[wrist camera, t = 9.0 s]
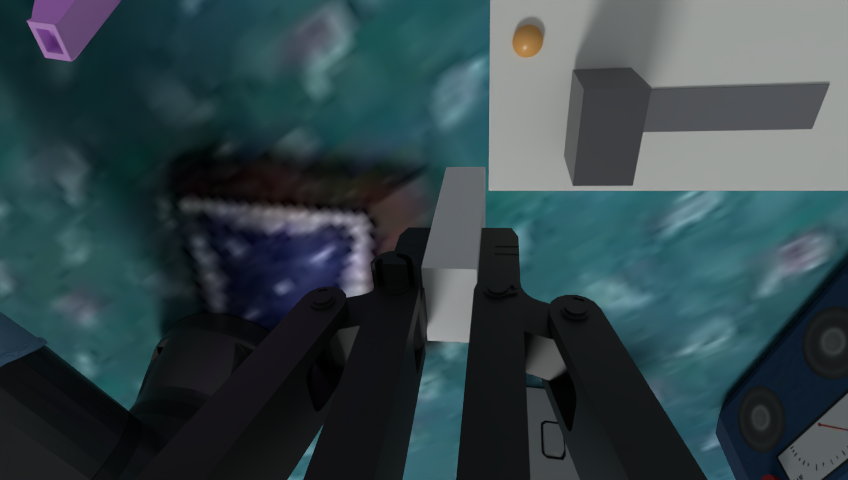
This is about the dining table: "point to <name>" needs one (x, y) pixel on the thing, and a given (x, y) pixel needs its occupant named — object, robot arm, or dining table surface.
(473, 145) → the dining table surface
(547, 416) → the electrical switch
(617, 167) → the block
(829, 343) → the radio
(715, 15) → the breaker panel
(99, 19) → the teakettle
